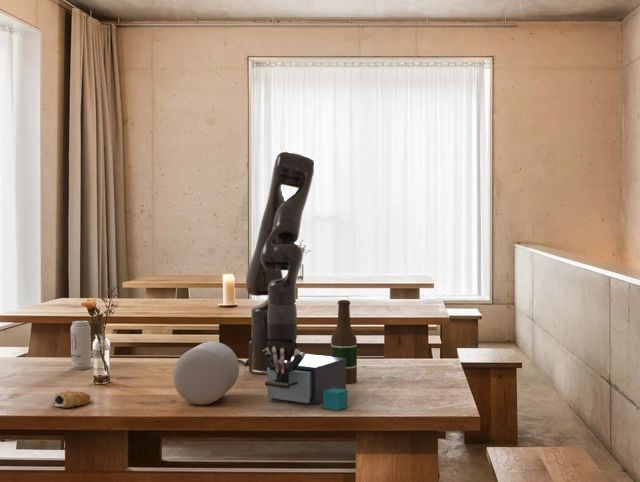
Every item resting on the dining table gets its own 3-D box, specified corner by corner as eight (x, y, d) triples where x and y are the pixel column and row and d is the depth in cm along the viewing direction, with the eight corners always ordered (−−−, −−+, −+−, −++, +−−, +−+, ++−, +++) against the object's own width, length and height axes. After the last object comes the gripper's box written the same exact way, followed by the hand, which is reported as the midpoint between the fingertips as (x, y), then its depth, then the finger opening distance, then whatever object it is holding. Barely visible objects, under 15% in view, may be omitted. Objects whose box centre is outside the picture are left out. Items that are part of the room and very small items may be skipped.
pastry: (79, 399, 220) (79, 385, 220) (96, 403, 216) (96, 388, 216) (50, 406, 212) (49, 391, 212) (66, 410, 208) (66, 395, 208)
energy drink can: (67, 368, 264) (66, 321, 263) (84, 365, 269) (83, 319, 268) (78, 370, 260) (77, 323, 259) (94, 368, 265) (94, 321, 264)
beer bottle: (354, 384, 240) (354, 302, 238) (328, 383, 241) (328, 301, 239) (358, 379, 247) (359, 299, 246) (333, 378, 249) (333, 298, 247)
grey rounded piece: (148, 385, 215) (190, 356, 238) (185, 428, 214) (223, 394, 238) (194, 341, 208) (233, 316, 232) (233, 386, 208) (267, 355, 231)
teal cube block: (323, 408, 210) (323, 391, 210) (332, 405, 214) (332, 387, 214) (338, 410, 208) (338, 393, 207) (347, 407, 212) (347, 389, 211)
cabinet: (315, 404, 214) (315, 367, 213) (271, 398, 221) (271, 362, 221) (345, 393, 228) (346, 358, 227) (303, 388, 235) (303, 353, 234)
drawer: (296, 407, 208) (296, 375, 207) (256, 401, 214) (255, 370, 214) (336, 392, 224) (336, 363, 224) (297, 387, 231) (297, 359, 230)
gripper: (311, 320, 211) (312, 387, 212) (269, 317, 218) (269, 382, 219) (295, 324, 205) (296, 393, 206) (252, 320, 212) (253, 387, 213)
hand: (282, 387), depth 213 cm, fingers closed
